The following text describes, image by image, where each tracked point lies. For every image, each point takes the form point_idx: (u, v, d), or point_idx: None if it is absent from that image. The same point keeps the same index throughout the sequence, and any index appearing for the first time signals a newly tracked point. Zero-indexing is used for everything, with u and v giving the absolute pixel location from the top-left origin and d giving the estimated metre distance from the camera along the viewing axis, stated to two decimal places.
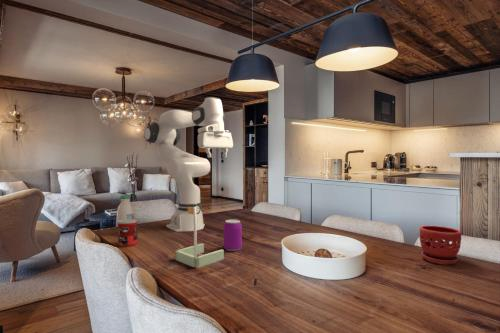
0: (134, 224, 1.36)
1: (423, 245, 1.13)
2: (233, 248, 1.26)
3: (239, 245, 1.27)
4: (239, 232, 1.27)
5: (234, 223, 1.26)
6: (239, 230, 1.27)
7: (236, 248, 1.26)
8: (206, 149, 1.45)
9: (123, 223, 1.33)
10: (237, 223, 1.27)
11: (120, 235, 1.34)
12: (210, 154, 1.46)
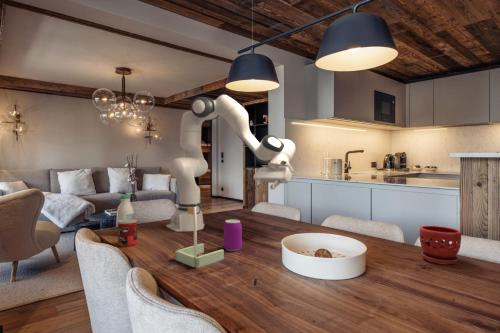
0: (134, 224, 1.36)
1: (423, 245, 1.13)
2: (233, 248, 1.26)
3: (239, 245, 1.27)
4: (238, 232, 1.27)
5: (234, 223, 1.26)
6: (239, 230, 1.27)
7: (236, 248, 1.26)
8: (278, 182, 1.42)
9: (123, 223, 1.33)
10: (237, 223, 1.27)
11: (120, 235, 1.34)
12: (274, 187, 1.42)
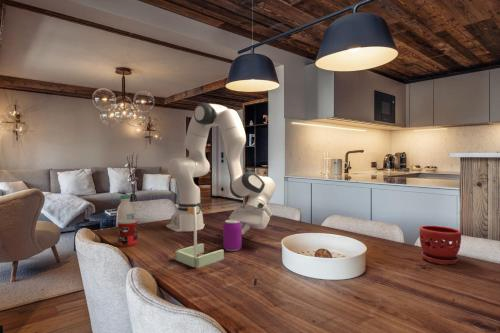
0: (134, 224, 1.36)
1: (423, 245, 1.13)
2: (233, 248, 1.26)
3: (239, 245, 1.27)
4: (238, 232, 1.27)
5: (234, 223, 1.26)
6: (239, 230, 1.27)
7: (236, 248, 1.26)
8: (248, 226, 1.33)
9: (123, 223, 1.33)
10: (237, 223, 1.27)
11: (120, 235, 1.34)
12: None
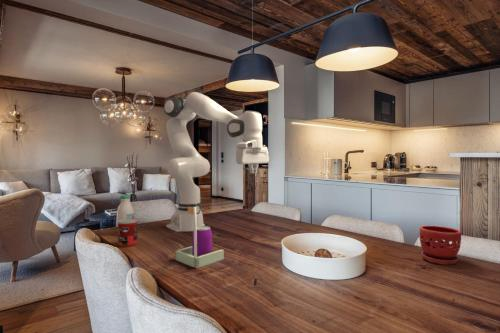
0: (134, 224, 1.36)
1: (423, 245, 1.13)
2: None
3: None
4: (207, 240, 1.15)
5: (202, 230, 1.15)
6: (208, 238, 1.15)
7: None
8: (249, 165, 1.46)
9: (123, 223, 1.33)
10: (205, 230, 1.15)
11: (120, 235, 1.34)
12: (253, 170, 1.46)
